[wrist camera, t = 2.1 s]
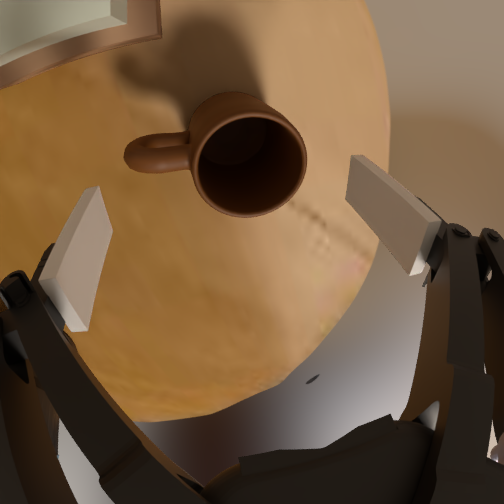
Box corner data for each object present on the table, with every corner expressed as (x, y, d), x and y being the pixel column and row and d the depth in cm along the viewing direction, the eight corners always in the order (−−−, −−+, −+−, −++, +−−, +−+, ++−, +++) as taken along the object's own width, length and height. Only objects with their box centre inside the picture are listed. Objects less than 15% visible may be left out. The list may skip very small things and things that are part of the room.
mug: (138, 168, 25) (121, 221, 18) (139, 87, 20) (116, 104, 13) (264, 170, 28) (296, 221, 21) (277, 95, 23) (321, 117, 16)
